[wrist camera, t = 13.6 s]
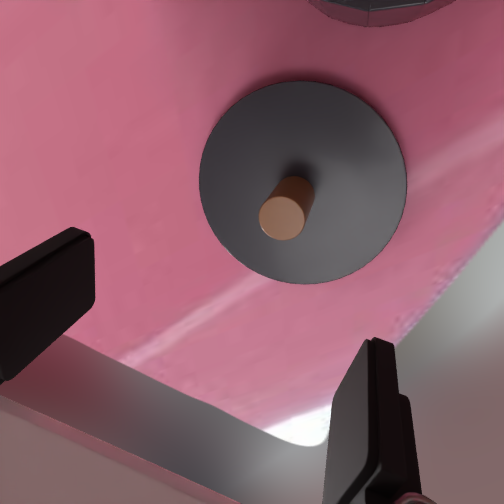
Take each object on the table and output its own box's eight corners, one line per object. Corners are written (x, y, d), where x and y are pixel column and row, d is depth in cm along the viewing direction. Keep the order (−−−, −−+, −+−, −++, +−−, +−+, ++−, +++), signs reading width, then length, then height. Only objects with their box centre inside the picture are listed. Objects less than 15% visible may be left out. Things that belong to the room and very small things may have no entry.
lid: (223, 54, 23) (185, 49, 18) (448, 116, 21) (472, 129, 16) (192, 243, 30) (159, 275, 25) (356, 301, 28) (355, 349, 23)
